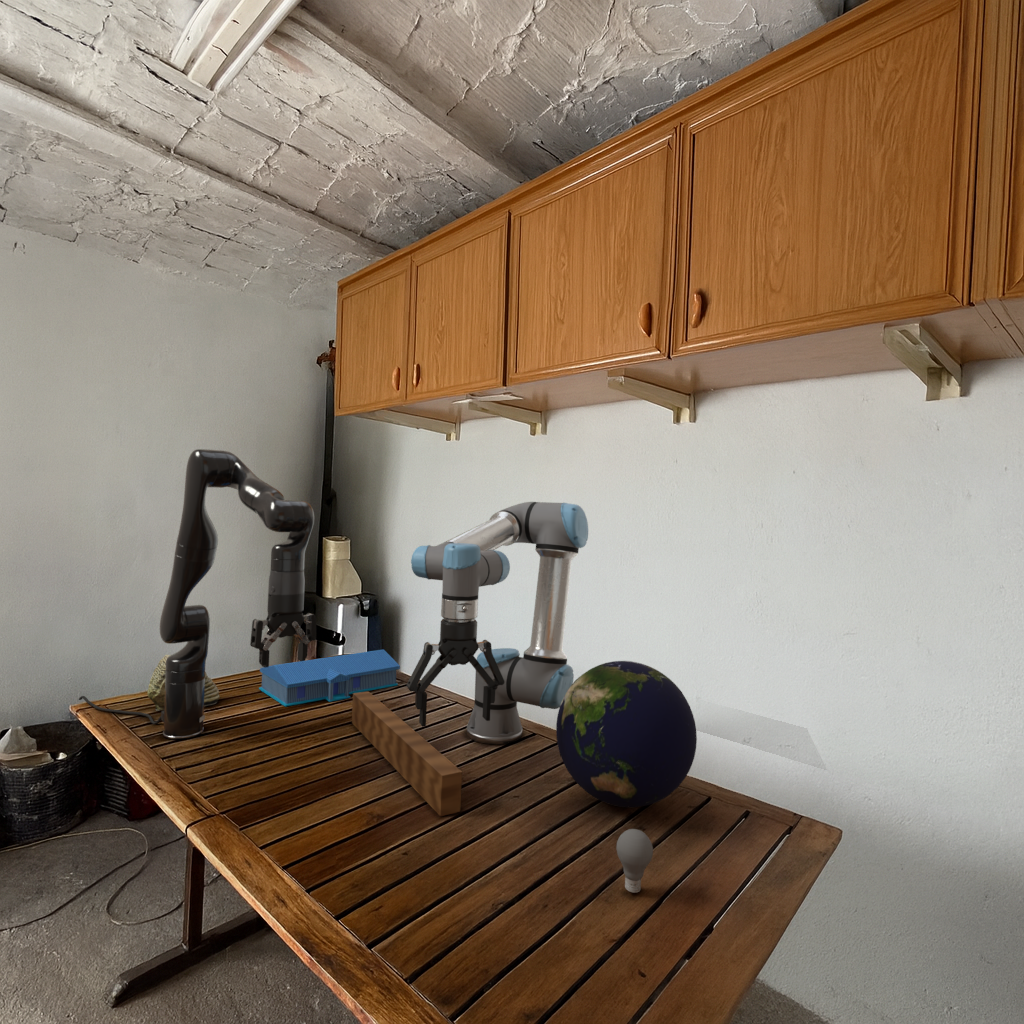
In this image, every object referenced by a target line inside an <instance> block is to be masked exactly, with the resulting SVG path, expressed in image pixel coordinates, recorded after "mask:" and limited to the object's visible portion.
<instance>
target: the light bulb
mask: <svg viewBox="0 0 1024 1024" xmlns="http://www.w3.org/2000/svg"><path fill="white" fill-rule="evenodd" d="M615 849H616V854H617V857H618V859H619V861H620V863H621V865H622V867H623V873H624V874H623V875H624V876H625V878H624V888H625V890H627V891H628V892H630V893H634V894H635V893H639V892H640V891H641V889H642V887H641V886H642V879H643V877H644V875H645V871H646V868H647V867H648V866H649V864H650V863H651V861H652V859H653V855H654V847H653V843H652V841H651V838H649V836H648V835H647V834H646V833H645V832H643V831H642V830H641V829H636V828H629V829H627V830H625V831H623V832H622V833H621V834H620V835H619V837H618V839H617V841H616V847H615Z"/></svg>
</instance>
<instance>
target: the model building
mask: <svg viewBox="0 0 1024 1024" xmlns="http://www.w3.org/2000/svg"><path fill="white" fill-rule="evenodd" d="M400 669H401V665H400V664H399V663H398V662H397V661H396V660H395V659H394V658H393V657H392V656H391V654H389V653H388V652H387V651H386V650H385V649H376V650H368V651H363V652H356V653H349V654H342V655H341V654H340V655H335V656H329V657H328V656H327V657H321V658H315V659H314V658H313V659H307V660H306V659H305V661H300V660H298V661H293V662H287V663H278V664H272V665H269V667H263V666H262V667H260V668H259V672H260V673H261V686H260V687H258V690H260V691H261V692H262V693H264V694H265V695H267V696H268V697H270V698H271V699H273V700H274V701H276V702H277V703H279V704H280V705H282V706H283V707H290V706H297V705H302V704H307V703H312V702H317V701H323V700H325V701H327V702H329V703H330V702H335V701H341V700H346V699H347V700H348V699H350V698H351V695H353V693H360V692H368V691H369V692H370V691H373V690H381V689H385V688H390V687H391V688H392V687H395V686H399V683H398V682H397V670H400Z"/></svg>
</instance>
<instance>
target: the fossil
mask: <svg viewBox="0 0 1024 1024" xmlns="http://www.w3.org/2000/svg"><path fill="white" fill-rule="evenodd" d="M171 655H172V654H165V655H164V656H163V657H162V658H161V659H160V660H159V662H158V663H157V666H156V667H155V669H154V670H153V672H152V675H151V677H150V680H149V684H148V688H147V697H148V699H149V700H150V701H152V703H153V704H154V706H155V711H158V712H159V711H160V712H161V711H164V705H165V674H166V660H167V658H168V657H169V656H171ZM220 698H221V696H220V690H219V688H218V686H217V685H216V683H215V682H214V681H213V679H212V678H211V677H209V675H208V674H207V672H206V671H205V693H204V707H207V706H213V705H215V704H217V703H218V701H219V699H220Z"/></svg>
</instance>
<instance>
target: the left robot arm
mask: <svg viewBox="0 0 1024 1024" xmlns="http://www.w3.org/2000/svg"><path fill="white" fill-rule="evenodd" d="M184 480H185V481H184V493H183V503H182V504H183V505H182V512H181V518H180V523H179V530H178V534H177V538H176V544H175V550H174V556H173V563H172V570H171V576H170V580H169V585H168V589H167V593H166V596H165V599H164V603H163V608H162V611H161V615H160V618H159V636H160V638H161V641H163V642H164V644H169V645H172V644H183V643H186V644H185V645H184V646H183V647H182V648H181V649H180V650H178V651H176V652H174V653H172V654H170V655H171V656H169V657H168V658H167V660H166V674H165V705H164V710H162V711H160V716H159V718H158V719H157V720H156V721H154V719H153V717H152V716H151V714H150V713H149V714H148V713H146V712H138V711H129V710H119V709H111V708H105V707H102V706H101V707H100V706H98V705H96V704H95V703H94V702H92V701H90V700H89V699H88V698H87V697H86V696H85V695H81V696H80V697H78V701H82V700H84V702H85V703H86V704H88V705H89V706H91V707H92V708H94V709H97V710H98V711H102V712H108V713H114V714H123V715H135V716H143V717H145V718H146V717H147V718H148V719H149V722H150V723H151V724H152V725H158V724H159V723H160V722H161V721H162V723H163V731H162V737H164V738H166V739H169V740H185V739H190V738H191V739H192V738H194V737H197V736H199V735H202V734H203V732H204V730H205V729H204V722H205V720H206V719H205V718H206V714H205V706H204V693H205V672H206V664H207V663H206V662H207V658H208V653H209V652H208V651H209V641H210V640H209V639H210V631H211V617H210V613H209V610H208V608H207V607H206V606H205V605H203V604H192V605H191V604H190V605H186V603H187V601H188V598H189V596H190V594H191V593H192V591H193V590H194V589H195V587H196V586H197V585H198V584H199V583H200V582H201V581H202V580H203V578H204V577H205V576H206V575H207V574H208V573H209V571H210V570H211V569H212V568H213V566H214V563H215V560H216V556H217V555H216V554H217V551H218V544H219V536H218V532H217V530H216V527H215V526H214V523H213V521H212V519H211V517H210V516H209V513H208V510H207V507H206V496H207V495H206V494H207V489H208V488H218V489H219V488H220V489H221V488H231V489H234V490H237V495H238V498H239V501H240V502H241V503H242V505H244V506H245V507H246V508H247V509H249V510H250V511H251V512H253V513H254V514H256V515H257V516H258V517H259V519H260V520H261V522H262V523H263V525H264V526H265V528H267V529H268V530H270V531H271V532H275V533H288V535H287V537H286V539H285V540H284V541H281V542H278V543H276V544H274V545H273V546H272V547H271V551H270V568H269V569H270V570H269V576H268V589H267V617H266V619H258V618H254V619H253V620H252V621H251V622H252V623H251V631H250V633H251V634H250V641H249V643H250V644H249V645H250V647H252V648H254V649H257V650H259V652H258V663H259V665H260V666H261V667H262V668H263V667H269V666H270V647H271V646H272V644H273V643H275V642H276V641H277V639H278V638H285V637H295V638H296V639H297V641H298V642H299V643H298V642H297V661H306V659H307V657H308V652H309V651H308V648H309V643H310V642H312V641H313V642H315V641H316V640H317V615H316V614H315V613H310V612H307V613H306V614H304V613H303V612H304V607H305V590H306V589H305V588H306V585H305V583H306V581H305V579H306V578H305V553H306V549H307V546H308V544H309V540H310V537H311V533H312V531H313V528H314V525H315V512H314V509H313V507H312V506H311V504H310V503H309V502H307V501H305V500H297V499H296V500H292V499H286V498H285V496H284V495H283V493H282V492H281V491H280V490H278V489H277V488H275V487H274V486H272V485H270V484H269V483H267V482H265V481H264V480H262V479H261V478H259V477H258V476H257V475H256V474H255V473H254V472H253V471H252V470H251V469H250V468H249V467H248V466H247V465H246V464H245V463H244V462H243V461H242V460H241V459H240V458H239V457H238V456H236V455H235V454H234V453H232V452H230V451H228V450H220V449H206V448H197V449H194V450H193V451H192V452H191V453H190V454H189V457H188V459H187V463H186V469H185V479H184ZM303 624H305V632H304V630H303V629H302V628H301V627H302V625H303ZM265 627H267V630H266V632H264V634H263V630H265Z"/></svg>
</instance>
